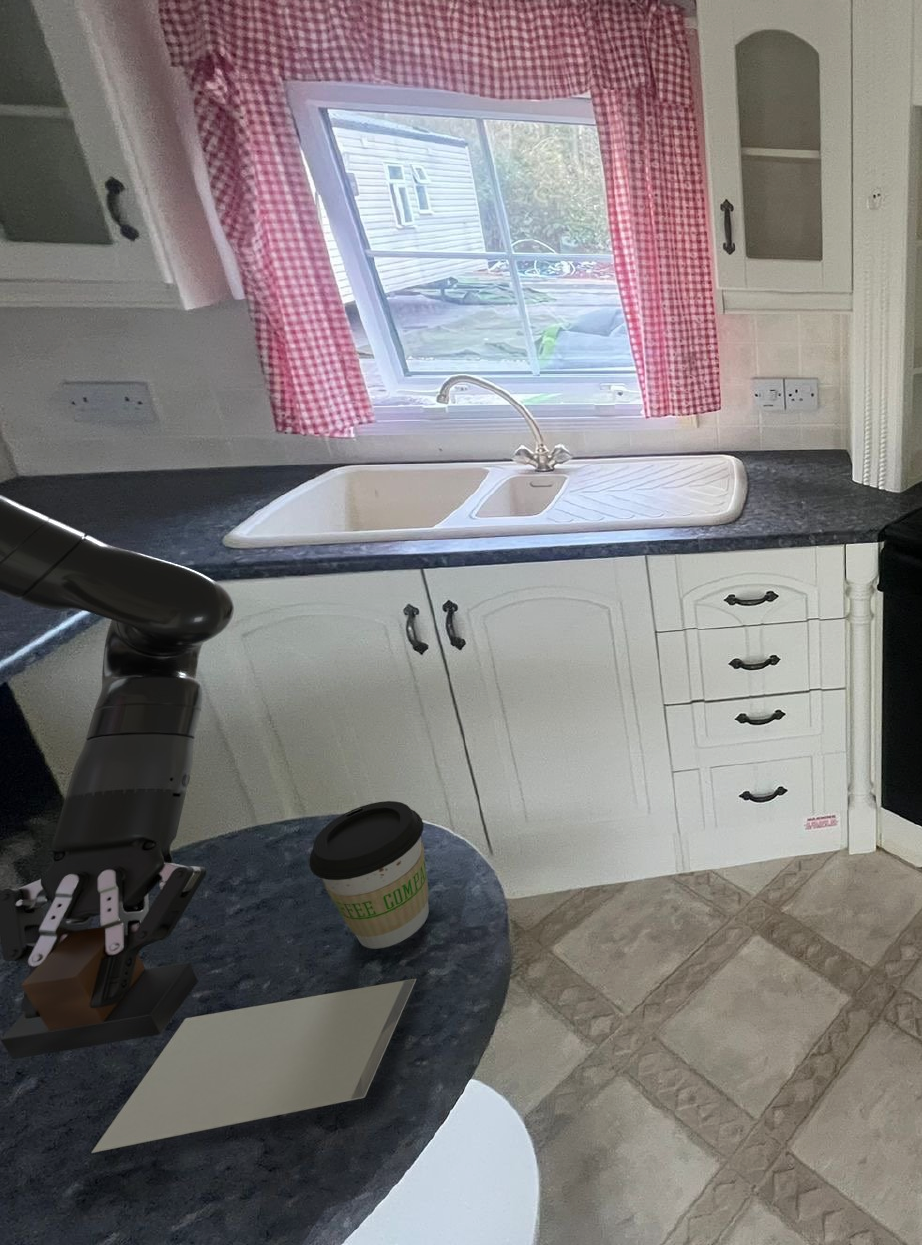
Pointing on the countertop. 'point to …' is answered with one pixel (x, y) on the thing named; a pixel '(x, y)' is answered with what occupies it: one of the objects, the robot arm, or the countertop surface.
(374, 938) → the coffee cup
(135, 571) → the robot arm
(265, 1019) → the board
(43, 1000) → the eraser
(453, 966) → the countertop surface
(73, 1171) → the countertop surface
